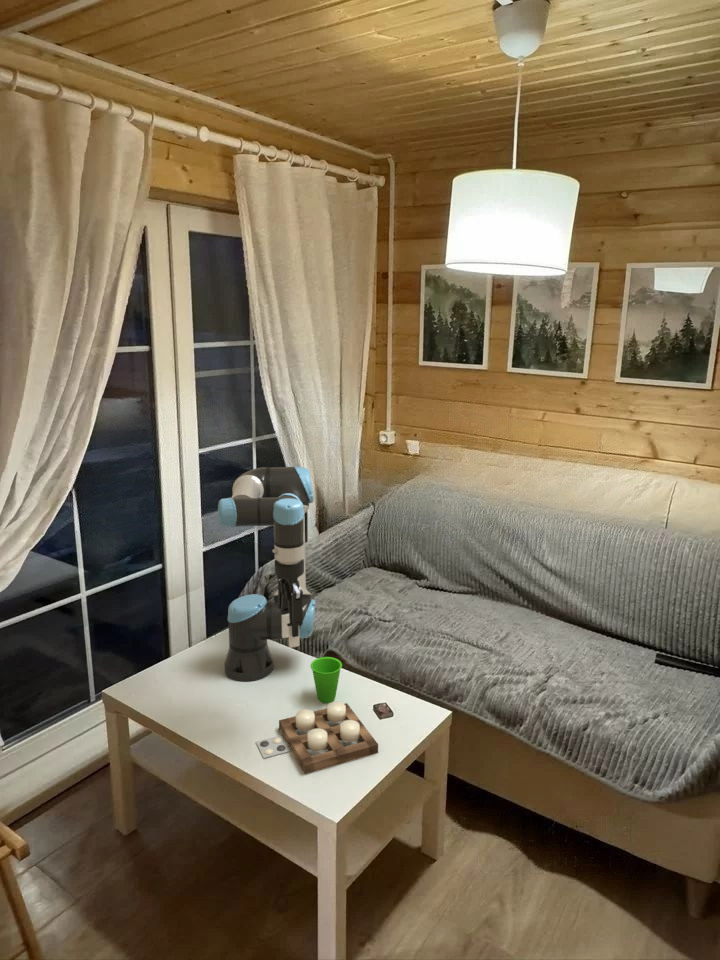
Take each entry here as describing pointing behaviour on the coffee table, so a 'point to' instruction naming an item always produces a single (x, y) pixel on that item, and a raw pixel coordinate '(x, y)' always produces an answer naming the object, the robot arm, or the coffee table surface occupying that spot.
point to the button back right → (305, 720)
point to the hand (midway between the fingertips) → (290, 641)
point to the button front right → (317, 739)
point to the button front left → (349, 730)
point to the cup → (326, 678)
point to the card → (272, 747)
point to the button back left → (336, 712)
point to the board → (334, 746)
